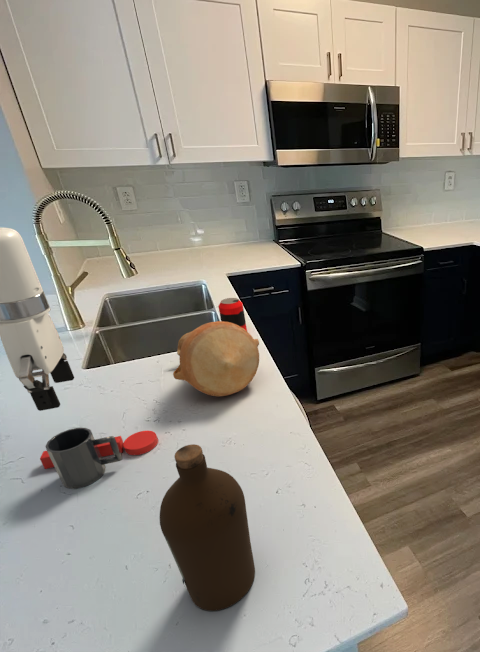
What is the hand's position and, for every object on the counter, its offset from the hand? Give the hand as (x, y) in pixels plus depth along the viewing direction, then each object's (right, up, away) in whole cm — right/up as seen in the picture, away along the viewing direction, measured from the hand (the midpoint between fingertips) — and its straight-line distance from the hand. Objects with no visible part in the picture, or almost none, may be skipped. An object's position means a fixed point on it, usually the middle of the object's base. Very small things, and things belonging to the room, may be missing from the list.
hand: (57, 393), depth 77 cm
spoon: (0, -14, +12) cm, 19 cm away
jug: (+14, 0, +40) cm, 42 cm away
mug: (+2, -17, +7) cm, 18 cm away
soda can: (+10, +13, +65) cm, 67 cm away
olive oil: (+35, -27, -13) cm, 46 cm away
